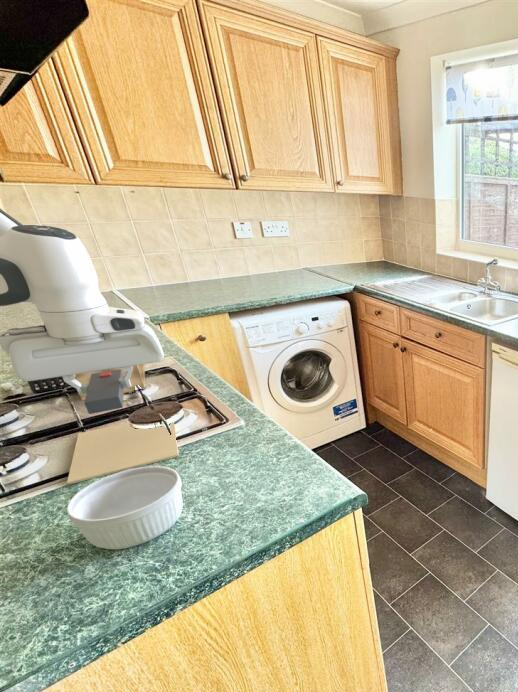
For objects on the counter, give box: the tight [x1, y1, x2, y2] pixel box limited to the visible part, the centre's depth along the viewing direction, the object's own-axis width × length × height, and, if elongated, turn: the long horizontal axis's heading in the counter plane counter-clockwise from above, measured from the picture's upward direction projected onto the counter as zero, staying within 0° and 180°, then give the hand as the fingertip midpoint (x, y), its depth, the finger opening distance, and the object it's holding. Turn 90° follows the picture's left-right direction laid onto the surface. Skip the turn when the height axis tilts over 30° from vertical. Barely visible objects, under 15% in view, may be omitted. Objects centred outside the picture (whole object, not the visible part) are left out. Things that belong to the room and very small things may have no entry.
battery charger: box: [26, 376, 69, 394], centre depth 103 cm, size 7×4×11 cm, turn 137°
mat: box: [66, 421, 180, 485], centre depth 86 cm, size 16×20×1 cm
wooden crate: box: [75, 364, 146, 401], centre depth 110 cm, size 12×21×12 cm, turn 38°
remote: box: [84, 369, 125, 415], centre depth 81 cm, size 5×15×3 cm, turn 39°
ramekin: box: [66, 465, 184, 550], centre depth 66 cm, size 13×13×7 cm
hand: (106, 390), depth 81 cm, fingers closed on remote, 4 cm apart
